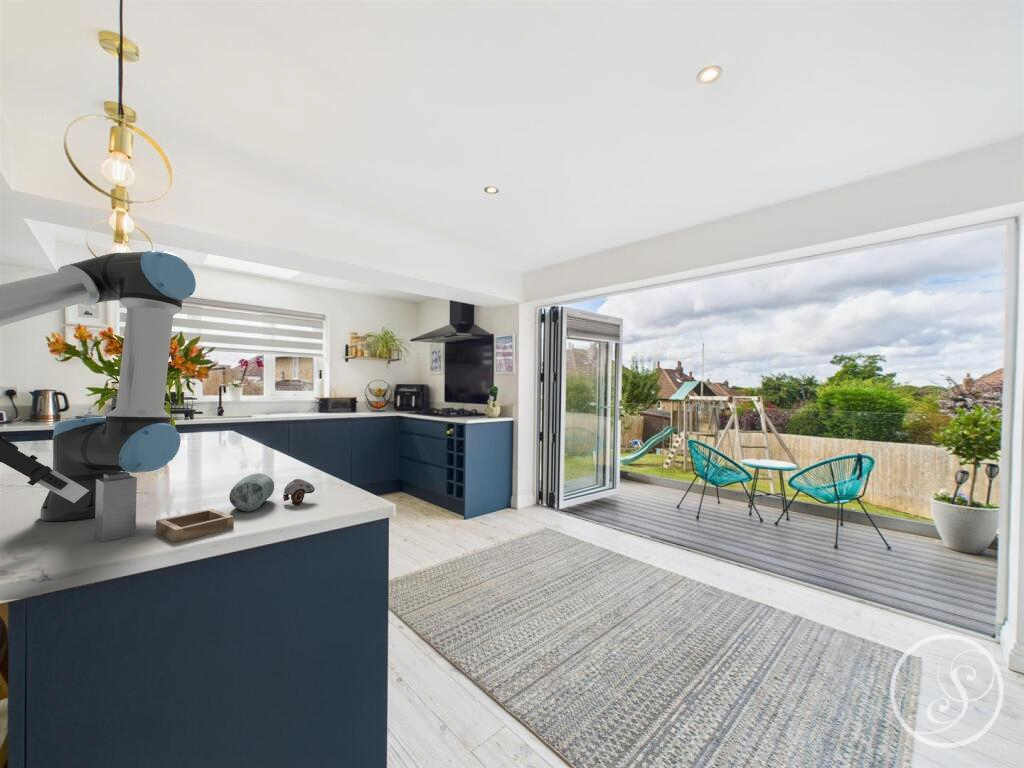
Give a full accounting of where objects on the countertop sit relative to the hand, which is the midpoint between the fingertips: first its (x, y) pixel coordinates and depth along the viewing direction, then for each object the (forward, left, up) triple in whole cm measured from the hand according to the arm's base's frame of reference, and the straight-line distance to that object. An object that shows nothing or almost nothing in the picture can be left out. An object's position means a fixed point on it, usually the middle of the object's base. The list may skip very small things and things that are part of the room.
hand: (71, 491), depth 78 cm
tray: (-6, +18, -11) cm, 22 cm away
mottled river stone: (-23, +23, -11) cm, 35 cm away
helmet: (-24, +34, -11) cm, 43 cm away
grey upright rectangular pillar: (-5, +4, -11) cm, 13 cm away
